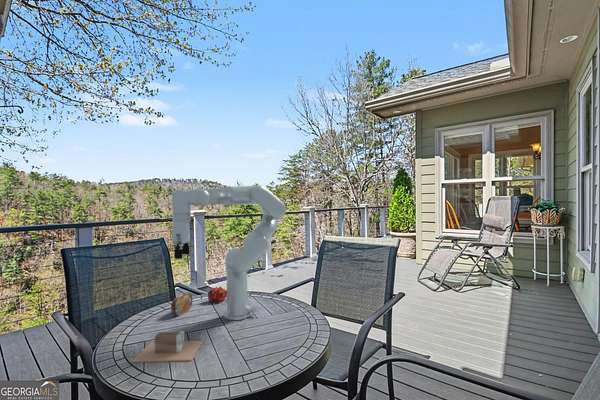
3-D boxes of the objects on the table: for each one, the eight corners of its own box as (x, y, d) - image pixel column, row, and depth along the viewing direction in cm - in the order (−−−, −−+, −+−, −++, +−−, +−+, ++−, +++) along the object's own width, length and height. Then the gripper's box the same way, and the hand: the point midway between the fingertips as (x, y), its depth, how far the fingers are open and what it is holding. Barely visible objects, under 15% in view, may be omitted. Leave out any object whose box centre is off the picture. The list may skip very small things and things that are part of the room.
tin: (175, 318, 148) (175, 300, 148) (169, 318, 149) (169, 300, 149) (193, 307, 163) (192, 290, 163) (187, 306, 164) (187, 290, 164)
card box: (159, 348, 118) (159, 331, 118) (184, 347, 118) (183, 331, 118) (155, 353, 114) (154, 336, 114) (180, 352, 114) (180, 336, 114)
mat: (202, 342, 124) (202, 340, 124) (191, 360, 110) (191, 359, 110) (150, 343, 123) (150, 342, 123) (132, 362, 109) (132, 361, 109)
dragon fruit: (205, 306, 168) (226, 304, 176) (212, 299, 164) (233, 298, 171) (203, 291, 173) (223, 290, 181) (209, 284, 168) (230, 283, 176)
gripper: (179, 216, 148) (180, 253, 148) (165, 219, 131) (166, 260, 131) (196, 216, 148) (196, 252, 149) (183, 218, 131) (184, 260, 131)
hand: (182, 256), depth 140 cm, fingers open, 9 cm apart
